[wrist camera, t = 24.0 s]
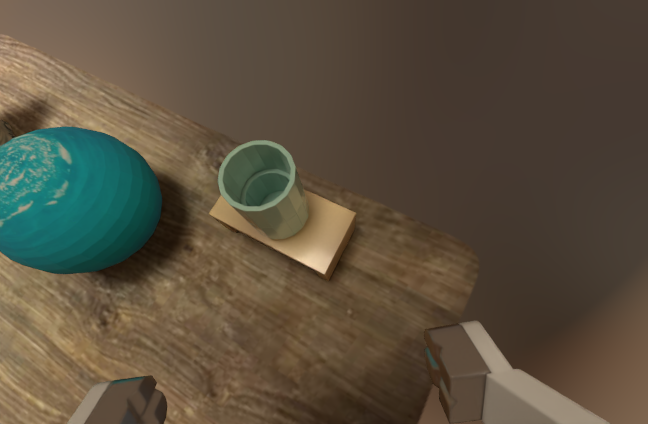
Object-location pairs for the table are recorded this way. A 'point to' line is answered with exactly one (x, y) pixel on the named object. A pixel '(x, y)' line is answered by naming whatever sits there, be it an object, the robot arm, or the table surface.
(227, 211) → the shelf
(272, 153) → the sage green tumbler
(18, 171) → the decorative orb
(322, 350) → the table surface
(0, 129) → the teapot
